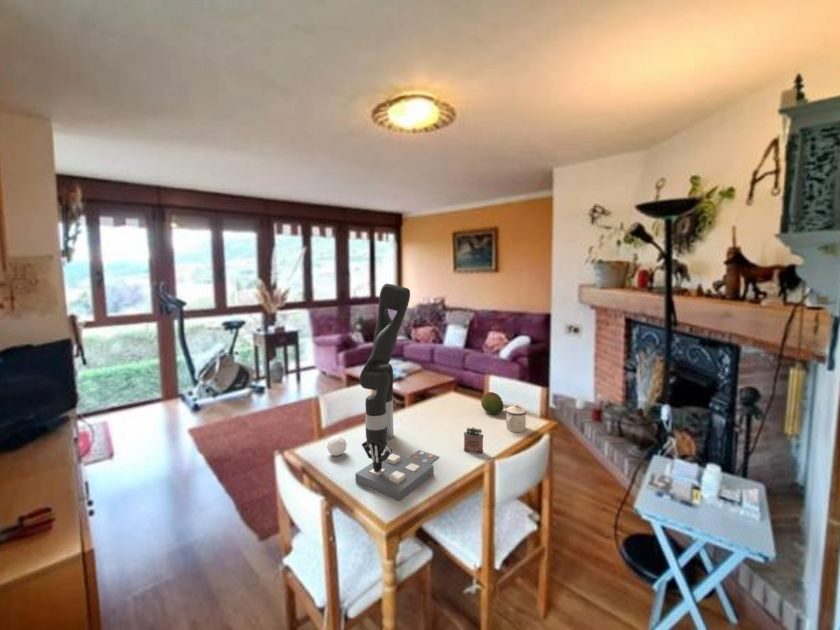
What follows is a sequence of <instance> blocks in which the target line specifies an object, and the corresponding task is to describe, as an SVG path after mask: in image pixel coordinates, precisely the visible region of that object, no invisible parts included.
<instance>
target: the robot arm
mask: <svg viewBox="0 0 840 630" xmlns="http://www.w3.org/2000/svg"><path fill="white" fill-rule="evenodd" d="M378 298H379V299H378V311H377V319H376V320H377V321H376V325H375V330H374V337H373V341H372V342H373V343H372V350H371V353H370V356H369V358H368V359H367V361H366V364H365V365H364V367H363V368H362V370H361V372H360V375H359V384H360V387H362V388H363V389H364V390H372V391H373V392H372V394H370V395H368V396H367V397H366V398H365V418H364V419H365V421H364V422H365V438H366V441H364V442H362V443H361V446H362V448H363V450H364V451H365V453H366V455H367V457H368V459H371V460H372V463H373V468H374V471H376V472H379V471H380V470H381V469H382V462H383V461H385V460H386V459H387V458H388V457H389V455H390V454H391V453H392V452H394V451H393V449H392V448H389V446H388V442H387V441H388V440H391V439H392V438H394V407H393V406H394V400H393V395H394V368H393V366H392V364H391V363H390V361H391V359H392V354H393V351H394V350H395V348H396V345H397V340H398V333H399V331H400V329H401V326H402V324H403V321H404V318H405V315H406V312H407V309H408V307H409V303H410V298H411V290H410V289H409V288H407V287H405V286H400V285H395V284H391V283H384V284H383V285H382V286H381V289H380V292H379V296H378ZM389 310H392V311H396V314H395V316H394V318H393V319H392V318H391V316H390V314H389V313H390V312H389Z"/></svg>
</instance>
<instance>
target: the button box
mask: <svg viewBox="0 0 840 630" xmlns="http://www.w3.org/2000/svg"><path fill="white" fill-rule="evenodd" d="M391 454H395V455H398V456H400V457H401V461H400V462H398V463H397V464H395V465H392V464H389V463H386V460H385V461H383V462H382V469H385V472H384V473H382V474H381V475H379V476H376V475H373V474H371V473H369V471H371V470H372V469H374V468H373V462H371V463H370V464H368V465H366V466H365V467H363V468H362V469H360V470H359V471H357V472H356V473H355V476H354V477H355V483H356V484H357V485H360V486H363V487H364V488H367V489H369V490H372V491H374V492H376V493H379V494H381V495H383V496H385V497H388V498H391V499H393V500H395V501H398V502H401V501H403V500H404V499H405V498H407V496H409V495H410V494H412V492H414V491H415V490H416V489H418V488H419V487H420V486H421V485H422V484H423V483H425V482H426V481H427V480H429V479H430V478H431V477H433V475H434V465H432V464H427V463H424V462H422V461H419V460H416V459H413V458H410V457H409V456H406V455H404V454H401V453H398V452H395V451H393V452H392V453H391ZM391 454H390V455H391ZM411 463H413V464H415V465H418V466H420V468H419V469H418V470H417V471H415V472H411V471H408V470H406V469H405V467H406V466H408V465H409V464H411ZM395 471H398V472H401V473H404V474H405V480H403V481H402V482H401V483H399V484H396V483H393V482H391V481H389V475H391V474H392V473H393V472H395ZM429 477H430V478H429Z"/></svg>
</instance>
